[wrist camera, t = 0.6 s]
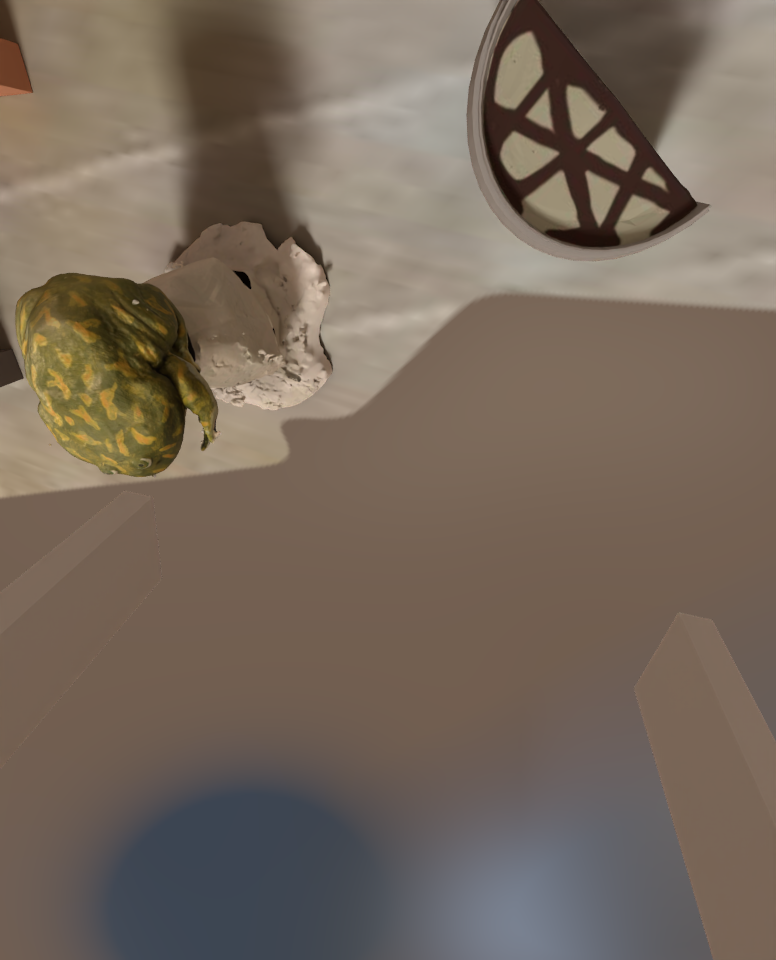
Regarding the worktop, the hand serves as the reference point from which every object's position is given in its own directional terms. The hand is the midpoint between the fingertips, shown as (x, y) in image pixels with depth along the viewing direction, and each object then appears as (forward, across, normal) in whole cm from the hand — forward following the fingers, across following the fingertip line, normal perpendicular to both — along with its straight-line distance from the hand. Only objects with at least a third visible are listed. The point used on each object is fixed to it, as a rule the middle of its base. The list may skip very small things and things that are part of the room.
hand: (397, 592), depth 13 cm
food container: (+26, +3, +10) cm, 28 cm away
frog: (+26, -14, -1) cm, 30 cm away
